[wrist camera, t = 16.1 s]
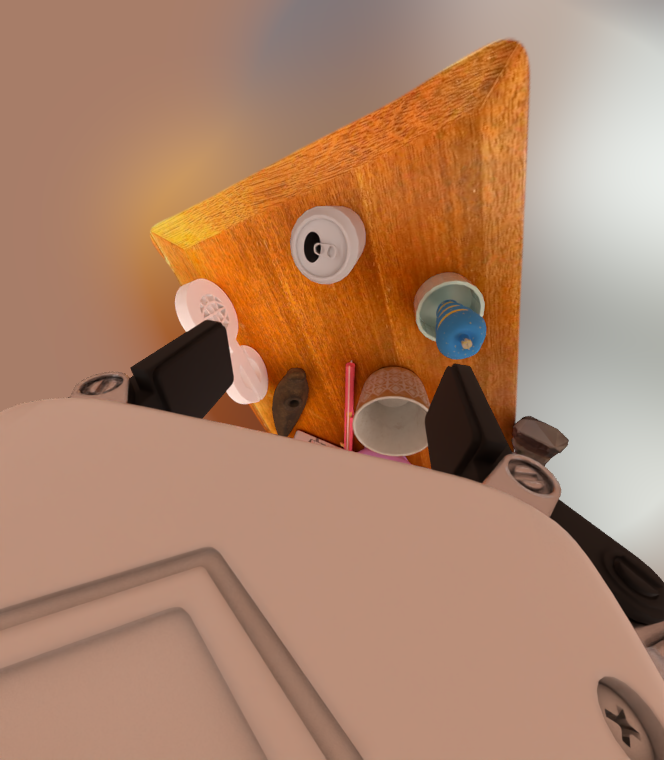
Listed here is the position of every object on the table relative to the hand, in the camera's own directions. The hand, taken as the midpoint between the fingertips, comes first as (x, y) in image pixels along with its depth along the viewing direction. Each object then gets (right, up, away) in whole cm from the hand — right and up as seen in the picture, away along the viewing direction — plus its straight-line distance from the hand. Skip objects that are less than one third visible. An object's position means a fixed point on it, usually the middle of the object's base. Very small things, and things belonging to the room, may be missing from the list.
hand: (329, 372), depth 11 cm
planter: (+12, -2, +37) cm, 39 cm away
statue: (+36, -9, +32) cm, 49 cm away
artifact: (-3, +1, +36) cm, 36 cm away
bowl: (+17, +11, +27) cm, 33 cm away
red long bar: (+6, -8, +40) cm, 42 cm away
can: (+1, +20, +25) cm, 32 cm away
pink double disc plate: (-16, +8, +37) cm, 41 cm away
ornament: (+16, +11, +26) cm, 33 cm away
